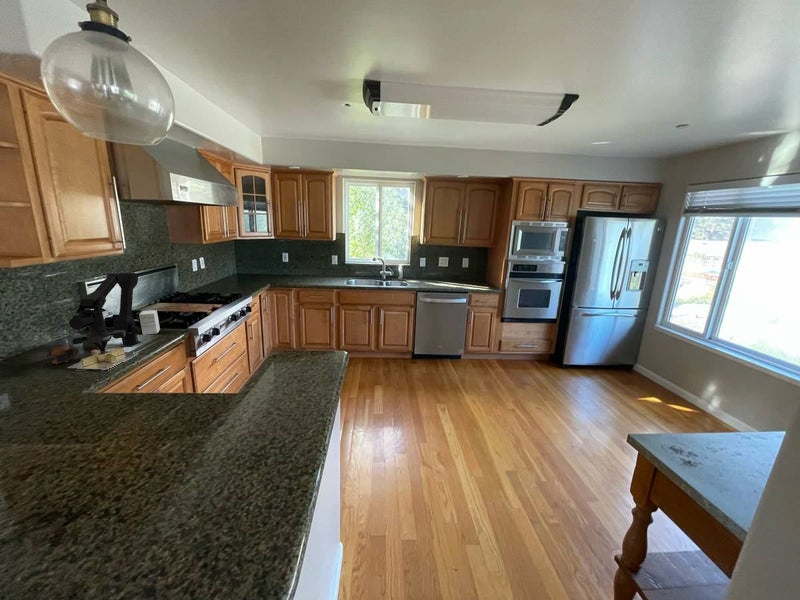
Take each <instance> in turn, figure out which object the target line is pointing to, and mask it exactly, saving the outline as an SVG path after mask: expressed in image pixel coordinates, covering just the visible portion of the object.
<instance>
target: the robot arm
mask: <svg viewBox="0 0 800 600" xmlns="http://www.w3.org/2000/svg"><path fill="white" fill-rule="evenodd" d="M138 282H139V275H138V274H137V273H136V272H135V271H134V272H130V271H129V272H127V271H126V272H125V271H123V272H122V271H121V272H109V273H108V274H107V275H106V277H105V279H104V280H103V281H102V282H101V283H100V284H99V285H98V286H97V287H96V289H95V290H94V291H93V292H91V293H88V294H86V295H85V296H83V297H82V298H81V299H80V303H79V305H78V308H77V310H76V313H75V314H73V315H72V318H70V319H69V323H68V324H69V325H68V326H70V328H71V329H72V330H75V331H80V330H83V329H85V328H88V333H87V334H86V333H84V334H77V335H75V336H74V337H73V338H72V339H71V343H72V345H80V344H82V343H83V342H84V341H88V342H89V344H91V345H95V346H96V347H97V348H98V349H99V351H107V347H108V346H107V345H108V342H110V340H111V339H112V338H113V339H116V340H117V339H121V342H122V344H120V347H134V346H136V345H138V344H139V343H142V341H141V340H139V338H138V334H139V333H141V327H139V326H138V325H137V324H136V320H135V318H134V317H133V316H132V315H133V313H132V312H133V300H134V299H133V298H134V289H135V288H136V287H137V286H138ZM117 284H118V286H119V288H120V298H119V299H120V300H119V301H120V302H119V313H118V314H119V315H118V317H117V318H114V320H113V325H112V327H113V329H114V331H113V332H110V333H109V332H108V330H107V326H106V322H105V318H104V313H103V312H107V309H105V308H103V307H104V306H105V304H106V302H107V297H108V295H109V294H110V293H111V292H112V290H113V289H114V288H115V287H116V285H117Z"/></svg>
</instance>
